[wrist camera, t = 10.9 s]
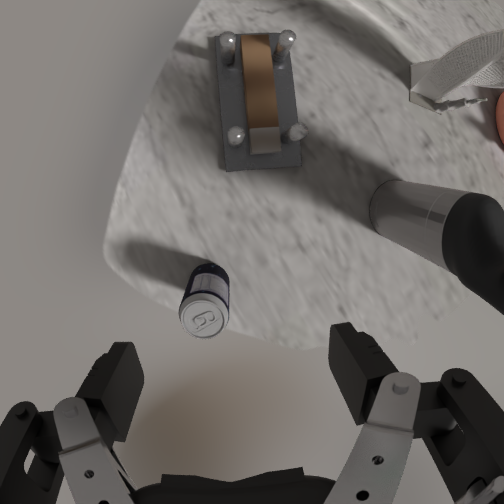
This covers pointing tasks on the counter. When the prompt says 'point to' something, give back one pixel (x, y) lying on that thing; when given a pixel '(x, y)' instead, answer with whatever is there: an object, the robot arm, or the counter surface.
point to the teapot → (500, 116)
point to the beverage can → (205, 302)
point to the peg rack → (236, 107)
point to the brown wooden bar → (260, 94)
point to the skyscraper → (459, 72)
